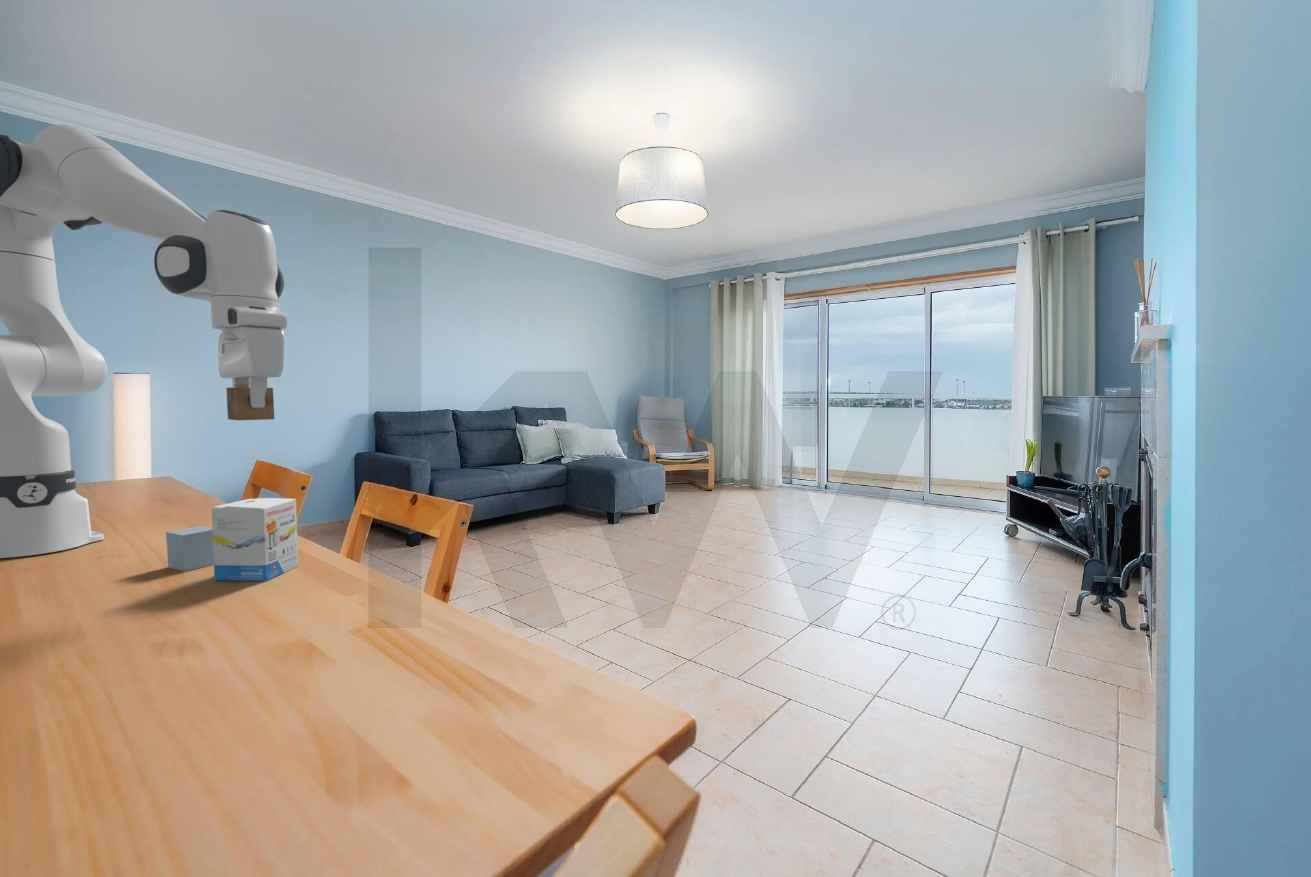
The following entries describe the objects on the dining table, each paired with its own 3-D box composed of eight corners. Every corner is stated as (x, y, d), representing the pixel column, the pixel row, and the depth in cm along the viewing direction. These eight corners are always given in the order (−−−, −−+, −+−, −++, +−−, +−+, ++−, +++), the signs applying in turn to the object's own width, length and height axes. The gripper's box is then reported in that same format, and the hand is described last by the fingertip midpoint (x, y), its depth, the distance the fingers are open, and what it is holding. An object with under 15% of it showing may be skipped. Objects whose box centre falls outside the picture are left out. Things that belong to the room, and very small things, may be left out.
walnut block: (227, 419, 94) (226, 387, 93) (264, 418, 98) (262, 387, 97) (237, 420, 91) (235, 387, 90) (274, 419, 94) (272, 387, 94)
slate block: (168, 567, 99) (166, 532, 98) (201, 560, 103) (200, 526, 103) (184, 571, 97) (182, 535, 96) (218, 563, 101) (216, 529, 101)
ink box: (266, 582, 92) (263, 507, 91) (212, 581, 92) (208, 506, 91) (301, 565, 100) (298, 497, 99) (251, 565, 100) (248, 496, 100)
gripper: (204, 321, 97) (209, 406, 98) (241, 311, 84) (246, 408, 85) (249, 325, 102) (253, 405, 103) (291, 315, 89) (295, 408, 90)
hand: (250, 407), depth 94 cm, fingers closed on walnut block, 5 cm apart
